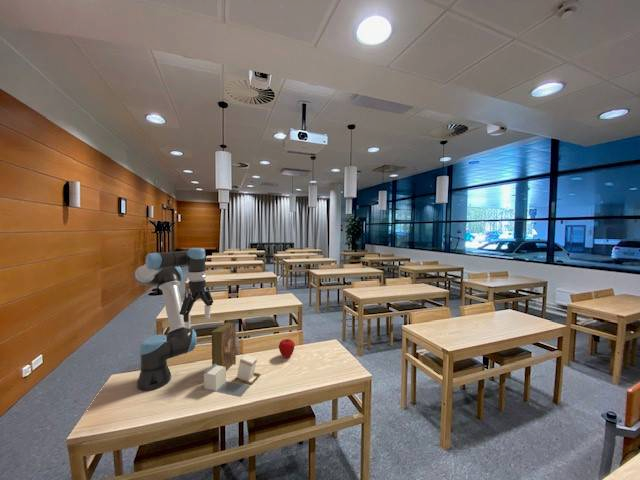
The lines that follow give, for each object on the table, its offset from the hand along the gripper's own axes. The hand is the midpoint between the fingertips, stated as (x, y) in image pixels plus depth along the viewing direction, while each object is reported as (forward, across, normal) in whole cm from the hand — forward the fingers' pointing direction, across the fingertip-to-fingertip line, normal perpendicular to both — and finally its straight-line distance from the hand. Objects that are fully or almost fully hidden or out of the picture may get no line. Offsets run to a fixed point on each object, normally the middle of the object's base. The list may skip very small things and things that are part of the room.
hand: (198, 322), depth 130 cm
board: (+35, +5, -12) cm, 37 cm away
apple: (+35, +45, -28) cm, 63 cm away
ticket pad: (+34, +5, -6) cm, 34 cm away
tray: (+35, +15, -18) cm, 42 cm away
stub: (+33, +15, -16) cm, 40 cm away
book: (+35, +21, 0) cm, 41 cm away
